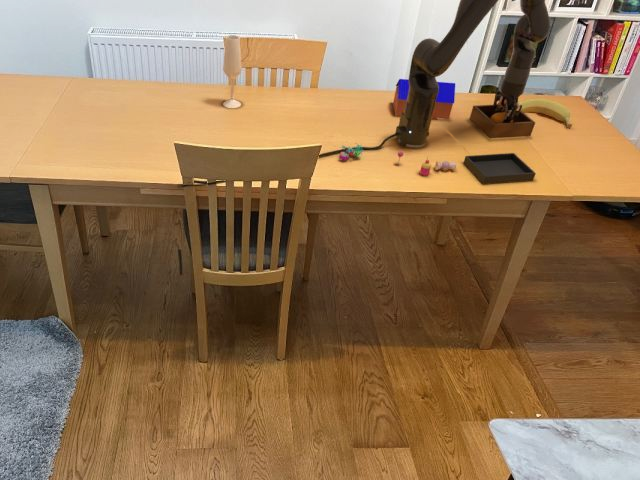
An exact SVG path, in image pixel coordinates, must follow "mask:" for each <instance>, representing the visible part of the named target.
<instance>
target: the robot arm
mask: <svg viewBox="0 0 640 480" xmlns="http://www.w3.org/2000/svg"><path fill="white" fill-rule="evenodd" d="M497 2H499V0H460V1H459V2H458V6H457V10H456V14H455V17H454V20H453V24H452V26H451V27H450V29H449V31H448V32H447V33H446V35H445V36H444V38H442V40H441V41H440V42H439V41H438V40H436V39H434V38H425V39H422V40H421V41H420V42H419V43H418V44H417V45H416V47H415V49H414V51H413V53H412V57H411V61H410V68H409V73H408V80H409V92H408V96H407V101H406V105H405V110H404V112H403V113H401V117H400V116H399V121H398V125H396V127H395V133H393V134H391V135H389V136H387V137H386V138H385V139H384V140H383V141H382V142H381V143H380V144H379V145H378V146H372V147H367V146H362V147H360V146H359V147H360V149H359V150H362V149H363V151H365V150H366V151H375V150H379V149H381V148H382V147H384V145H385V144H386V142H388V141H389V140H391V139H392V138H394V137H395V140H396V141H397V142H398V143H399V145H400V146H401V147H403V148H409V149H421V148H423V147H425V146H426V145H427V141H428V140H427V139H428V136H429V135H430V127H431V124H432V120H433V119H432V115H433V111H434V107H435V103H436V99H437V95H438V91H439V85H438V83H437V82H438V81H437V79H436V78H437V77H440V76H441V75H443V74H444V73H446V71H448V69H449V68H450V67H451V66H452V64H453V62H454V61H455V59H456V58H457V56H458V55H459V54H460V52H461V50H462V49H463V48H464V46H465V44H466V43H467V41H468V40H469V39H470V37H471V36H472V35H473V34H474V32H475V31H476V29H477V28H478V27H479V26H480V24H481V22H482V21H483V20H484V18H486V16H487V15H488V14H489V13H490V11H491V10H492V9H493V8H494V7H495V5H496V4H497ZM519 5H520V6H519V8H520V11H521V12H522V13H523V15H522V16H521V17H520V18H519V19H518V20H517V22H516V24H515V26H514V30H513V31H514V32H513V44H512V46H513V47H512V53H511V57H510V59H509V63H508V65H507V68H506V69H505V73H504V76H503V79H502V82H501V85H500V88H499V89H498V90H495V94H494V100H493V104H492V105H493V108H495V113H502V112H501V111H503V110H504V113H505V119H504V121H503V123H510V121H511V120H516V118H517V116H518V114H519V112H520V111H521V109H522V105H519V97H520V96H522V95H523V94H524V91H525V88H526V85H527V83H528V80H529V76H530V73H531V69H532V65H533V63H534V60H535V57H536V53H537V52H536V49H535V48H534V47H533V45H532V44H531V43H541V42H543V41H544V40H545V39H546V38H547V37H548V35H549V33H550V29H551V20H550V14H549V11H548V8H547V4H546V0H519ZM508 109H512V110H508ZM508 113H510V115H509V116H508ZM513 115H514V117H513ZM356 147H357V146H353V147H351V148H352V149H356ZM342 149H343V148H341V149H337V150H332V151H327V152H324V153H320V155H319V154H318V155H319V157H318V158H322V157H325V156H330V155H334V154H340V153H341V152H344V153H345V152H346V150H344V149H343V150H342ZM347 150H348V149H347ZM193 180H194V183H193V184H200V185H208V184H207V181H208V180H197V179H193ZM222 182H224V181H216V183H222ZM181 187H182V188H184V187H185V186H184V185H183V184H182V185H181ZM177 251H178V253H177V254H178V265H179V275H180V276H183V258H182V257H183V256H182V250H181V249H180V248H179V249H178V250H177Z"/></svg>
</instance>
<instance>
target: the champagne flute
mask: <svg viewBox="0 0 640 480" xmlns="http://www.w3.org/2000/svg"><path fill="white" fill-rule="evenodd" d="M242 63H243V62H242V50H241V37H240V36H239V35H236V34H230V35H229V34H228V35H226V36H225V44H224V54H223V65H222V66H223V67H222V71H223V73H224V74H225V75H226V76H227V77H228V78H229V79H230V98H229V99H228V100H226V101H224V102H223V103H222V105H223V106H224V107H225V108H229V109H237V108H240V107H241V106H242V103H241V102H239V101H238V100H236V99H235V79H236V78H237V77H238V76H240V74H241V73H242V71H243V64H242Z"/></svg>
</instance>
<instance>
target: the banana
mask: <svg viewBox="0 0 640 480" xmlns="http://www.w3.org/2000/svg"><path fill="white" fill-rule="evenodd" d="M518 104H519V105H522V109H521V111H522V112H523V113H534V114H535V113H536V114H542V115H547V116H549V117H551V118H553V119H556V120H558V121H561V122H564V123H566V128H568V129H570V128H572V126H573V124H572V123H571V122H570V118H571V111H570V109H569V108H568V107H567V106H565V105H564V104H562V103H560V102H557V101H554V100H551V99H545V98H529V99H526V100H523V101H521V102H518Z"/></svg>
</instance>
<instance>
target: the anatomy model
mask: <svg viewBox="0 0 640 480" xmlns="http://www.w3.org/2000/svg"><path fill="white" fill-rule="evenodd" d="M355 145H357V146H355V147H356V149H352V148H353V147H351V146H345V145H343V144H342V145H341V146H339V148H341V149H342V150H343V149H344V150H346V151H344V152H339V158H340V160H341V161H347V160H348V159H349V157H350V156H351V157H352V158H358V156H360V155H361V156H362V155H363V151H364V150H363V149H360V147H363V146H362V145H361V144H359V143H357V142H355ZM347 149H348V150H347ZM347 153H348V154H347ZM349 155H350V156H349Z"/></svg>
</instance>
